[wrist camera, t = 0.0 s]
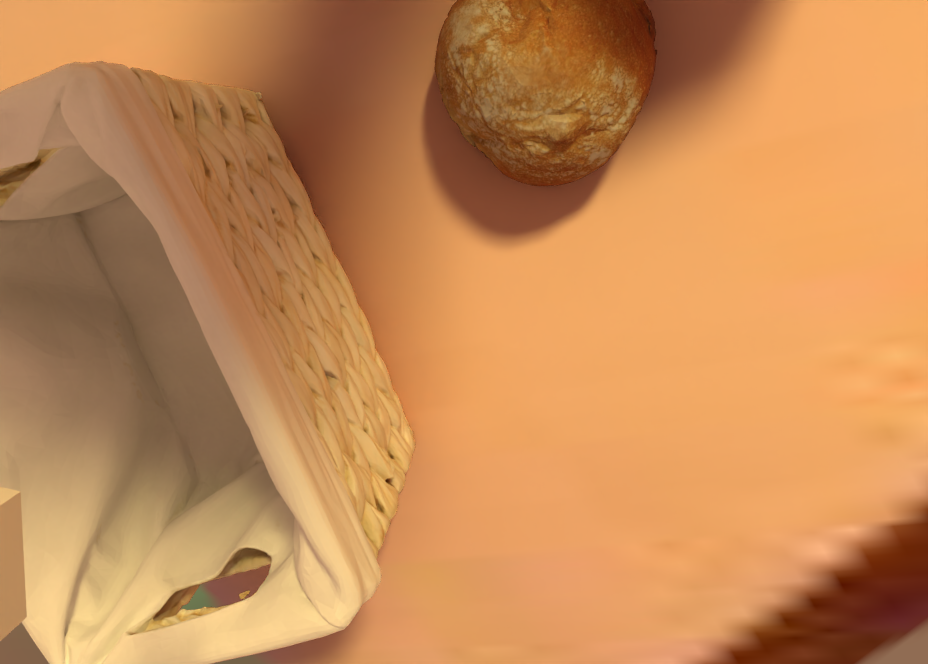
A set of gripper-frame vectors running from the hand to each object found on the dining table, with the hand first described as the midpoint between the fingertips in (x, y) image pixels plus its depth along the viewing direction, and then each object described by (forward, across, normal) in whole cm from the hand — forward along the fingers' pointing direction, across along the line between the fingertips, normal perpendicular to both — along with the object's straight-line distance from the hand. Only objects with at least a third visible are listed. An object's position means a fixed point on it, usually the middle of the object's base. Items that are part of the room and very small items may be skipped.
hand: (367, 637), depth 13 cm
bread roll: (+28, 0, +10) cm, 30 cm away
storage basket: (+28, -15, -6) cm, 33 cm away
